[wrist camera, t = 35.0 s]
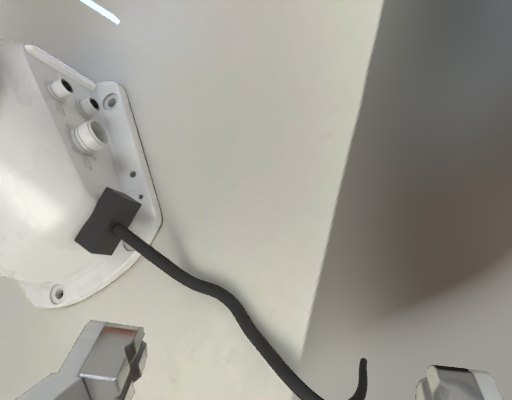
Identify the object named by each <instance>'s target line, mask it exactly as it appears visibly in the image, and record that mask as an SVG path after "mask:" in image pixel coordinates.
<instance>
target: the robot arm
mask: <svg viewBox="0 0 512 400" xmlns="http://www.w3.org/2000/svg"><path fill="white" fill-rule="evenodd" d="M81 1H82V2H84V3H85V4H87V5H89V6H90V7H92V8H93V9H95V10H96V11H98V12H99V13H101V14H103V15H104V16H106V17H107V18H109V19H110V20H112V21H113V22H115V23H117V24H118V23H119V22H120V21H119V20H118V19H117V18H116V17H115V16H114V15H113V14H111V13H110V12H108V11H106V10H105V9H103V8H102V7H100V6H98V5H97V4H95V3H94V2H92V1H91V0H81ZM115 103H116V104H115ZM114 104H115V105H114ZM161 222H162V216H161V211H160V208H159V204H158V201H157V197H156V194H155V190H154V187H153V183H152V180H151V177H150V173H149V170H148V166H147V163H146V159H145V156H144V153H143V149H142V146H141V142H140V139H139V136H138V132H137V129H136V125H135V122H134V118H133V115H132V112H131V108H130V105H129V101H128V98H127V94H126V91H125V89H124V88H123V87H122V86H121V85H119V84H118V83H116V82H114V81H99V82H92V81H91V80H89V79H88V78H86V77H84V76H83V75H81V74H80V73H78V72H77V71H75V70H73V69H72V68H70V67H69V66H67V65H66V64H64V63H62V62H61V61H59V60H58V59H56V58H54V57H53V56H51V55H50V54H48V53H46V52H45V51H43V50H41V49H40V48H38V47H37V46H35V45H29V44H26V43H16V42H10V41H5V40H0V276H3V277H7V278H12V279H17V281H18V282H19V284H20V286H21V288H22V289H23V291H24V293H25V295H26V296H27V298H28V300H29V301H30V303H31V304H32V305H33V306H34V307H36V308H48V309H56V308H62V307H66V306H70V305H73V304H75V303H78V302H80V301H82V300H84V299H86V298H88V297H90V296H92V295H93V294H95V293H97V292H98V291H100V290H101V289H103V288H104V287H106V286H107V285H109V284H110V283H111V282H113V281H114V280H115V279H117V278H118V277H119V276H121V275H122V274H123V273H124V272H125V271H126V270H128V269H129V268H130V267H131V266H132V265H133V264H134V263H135V262H136V261H137V260H138V259H139V258H140V257H141V256H144V257H145V258H146V259H148V260H149V261H150V262H152V263H153V264H154V265H156V266H157V267H159V268H160V269H161V270H163V271H164V272H165V273H167V274H168V275H169V276H171V277H172V278H174V279H175V280H177V281H178V282H180V283H182V284H183V285H185V286H187V287H189V288H191V289H193V290H195V291H198V292H201V293H204V294H207V295H210V296H212V297H215V298H217V299H218V300H220V301H221V302H222V303H224V304H225V305H226V306H227V307H228V308H229V310H230V311H231V312H232V314H233V315H234V317H235V318H236V320H237V322H238V324H239V325H240V327H241V329H242V330H243V332H244V333H245V335H246V336H247V338H248V339H249V340H250V341H251V343H252V344H253V345H254V346H255V347H256V349H257V350H258V351H259V352H260V354H261V355H262V356H263V357H264V359H265V360H266V361H267V362H268V364H269V365H270V366H271V367H272V369H273V370H274V371H275V372H276V373H277V375H278V376H279V377H280V378H281V379H282V380H283V382H284V383H285V384H286V385H287V386H288V387H289V388H290V389H291V390H292V391H293V392H294V393H295V394H296V395H297V396H298V397H299V398H300V399H301V400H324V399H322V398H321V397H320V396H318V395H317V394H316V393H315V392H313V391H312V390H311V389H310V388H309V387H308V386H307V385H306V384H305V383H304V382H303V381H302V380H301V379H299V377H298V376H297V375H296V374H295V373H294V372H293V371H292V370H291V369H290V368H289V366H288V365H287V364H286V363H285V362H284V361H283V360H282V358H281V357H280V356H279V355H278V354H277V352H276V351H275V350H274V349H273V348H272V346H271V345H270V344H269V343H268V342H267V340H266V339H265V338H264V337H263V336H262V334H261V333H260V332H259V331H258V330H257V328H256V327H255V325H254V324H253V322H252V321H251V319H250V317H249V316H248V314H247V312H246V311H245V309H244V308H243V306H242V305H241V304H240V302H239V301H238V300H237V299H236V298H235V297H234V296H233V295H232V294H231V293H229V292H228V291H227V290H225V289H223V288H222V287H220V286H217V285H215V284H212V283H209V282H206V281H203V280H200V279H197V278H195V277H193V276H191V275H190V274H188V273H186V272H185V271H183V270H182V269H181V268H179V267H178V266H176V265H175V264H174V263H173V262H171V261H170V260H169V259H167V258H166V257H165V256H163V255H162V254H161V253H159V252H158V251H157V250H155V249H154V248H153V247H151V246H150V244H151V242H152V241H153V239H154V237H155V236H156V234H157V232H158V229H159V227H160V225H161ZM62 291H63V297H62ZM144 335H145V334H144V329H143V327H136V326H129V325H122V324H114V323H109V322H101V321H93V320H91V321H89V322H88V323H87V324H86V325H85V327H84V329H83V330H82V332H81V334H80V335H79V337H78V339H77V341H76V342H75V344H74V346H73V347H72V349H71V351H70V352H69V354H68V356H67V358H66V359H65V361H64V363H63V364H62V366H61V368H60V369H59V371H58V373H57V374H55V373H51V374H50V375H49V376H47V377H46V378H44V379H43V380H42V381H40V382H39V383H37V384H36V385H35V386H33V387H32V388H30V389H29V390H28V391H26V392H25V393H24V394H22V395H21V396H19V397H18V398H17V399H15V400H132V399H133V396H134V394H135V389H134V385H133V383H134V382H135V381H136V380H138V379H139V378H140V377H141V375H142V372H143V370H144V367H145V363H146V358H147V344H146V343H145V342H144V341H143V337H144ZM425 373H426V376H427V377H426V378H423V379H421V380H420V381H419V383H418V385H417V387H416V395H415V398H416V400H503V398H502V396H501V394H500V392H499V389H498V387H497V385H496V383H495V381H494V378H493V377H492V376H491V374H490V373H488V372H485V371H478V370H469V369H464V368H455V367H446V366H438V365H430V366H428V367H427V369H426V371H425ZM367 380H368V379H367V360H366V359H365V358H361V360H360V364H359V381H358V387H357V390H356V392H355V393H354V395H353V396H352V397H351V398H350V399H348V400H365V397H366V393H367V385H368V384H367V383H368V382H367Z"/></svg>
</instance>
